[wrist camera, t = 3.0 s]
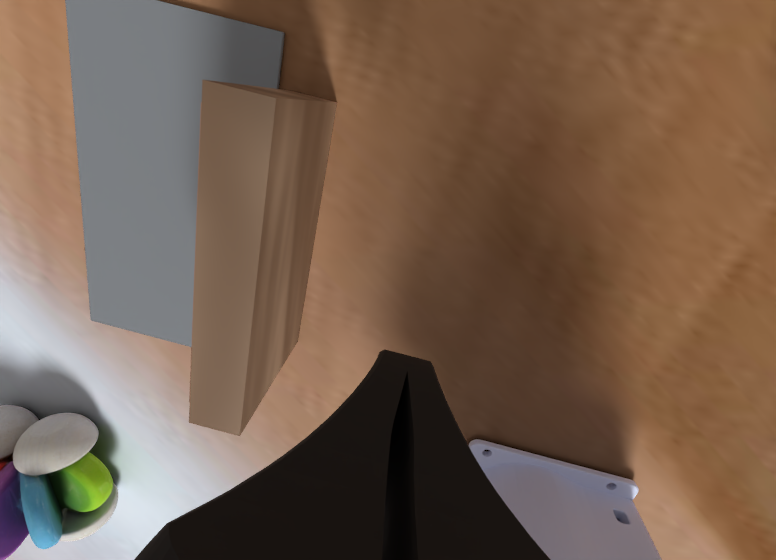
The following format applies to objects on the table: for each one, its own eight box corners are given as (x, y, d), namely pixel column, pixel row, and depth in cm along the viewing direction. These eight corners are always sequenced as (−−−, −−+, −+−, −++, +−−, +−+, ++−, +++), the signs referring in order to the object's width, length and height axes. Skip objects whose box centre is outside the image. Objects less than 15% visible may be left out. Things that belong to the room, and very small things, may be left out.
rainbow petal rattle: (-20, 388, 26) (-177, 483, 19) (121, 406, 25) (8, 513, 19) (19, 483, 29) (-103, 593, 23) (145, 502, 29) (57, 622, 22)
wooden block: (337, 102, 17) (276, 98, 11) (298, 340, 22) (239, 436, 15) (286, 89, 17) (193, 77, 11) (258, 329, 22) (182, 420, 15)
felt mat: (284, 32, 16) (282, 32, 16) (249, 360, 23) (247, 361, 22) (67, -22, 16) (63, -24, 16) (93, 318, 23) (90, 320, 22)
